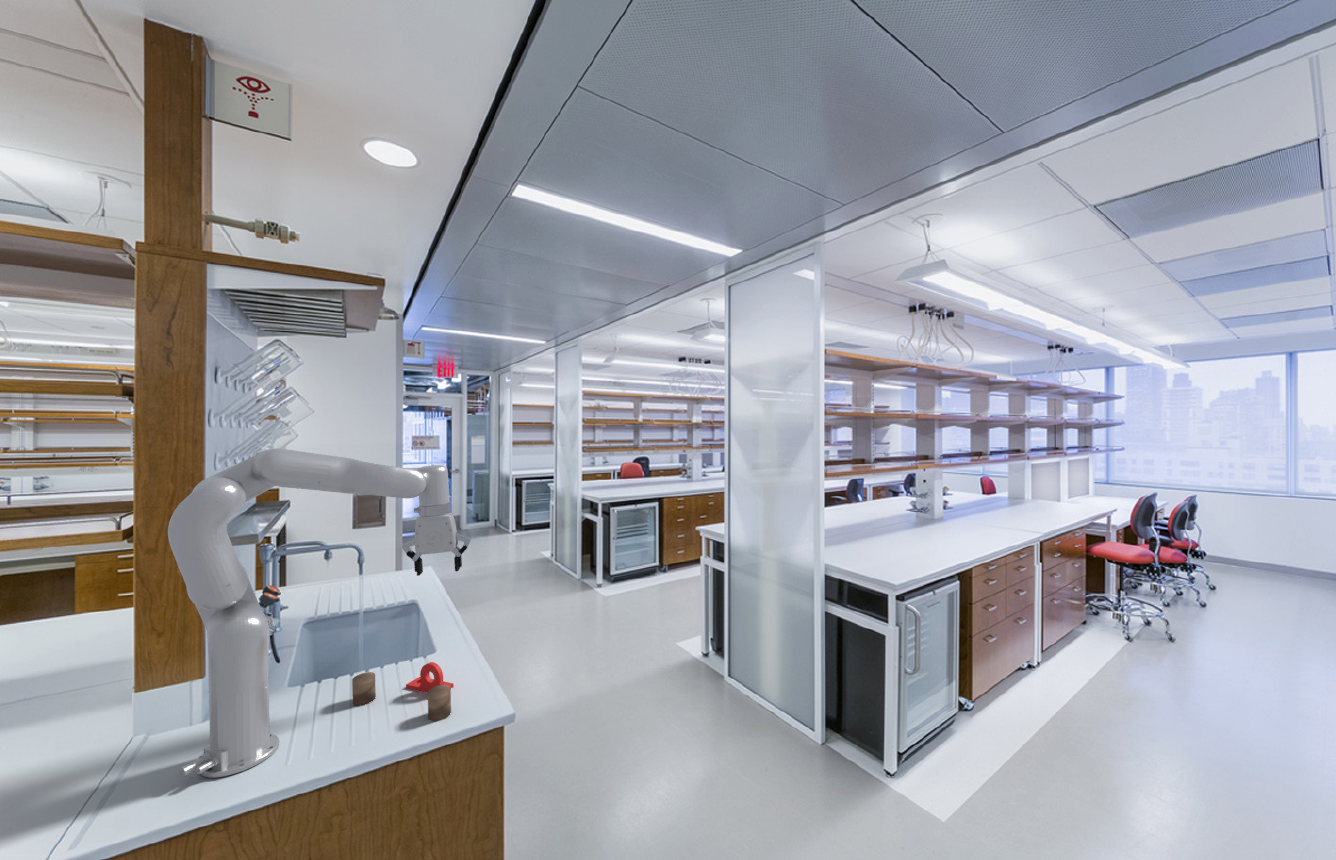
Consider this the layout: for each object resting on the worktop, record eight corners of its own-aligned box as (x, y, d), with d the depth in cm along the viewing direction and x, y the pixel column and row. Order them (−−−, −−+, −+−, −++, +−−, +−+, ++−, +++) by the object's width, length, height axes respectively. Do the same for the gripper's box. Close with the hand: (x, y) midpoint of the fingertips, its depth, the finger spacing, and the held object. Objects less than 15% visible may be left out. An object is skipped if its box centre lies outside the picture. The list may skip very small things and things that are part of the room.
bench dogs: (440, 722, 113) (439, 697, 113) (347, 704, 121) (347, 680, 121) (455, 710, 117) (455, 686, 117) (365, 693, 126) (365, 671, 126)
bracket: (453, 687, 129) (452, 658, 129) (440, 696, 124) (439, 666, 124) (420, 680, 133) (419, 651, 133) (406, 688, 129) (405, 659, 129)
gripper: (396, 516, 125) (400, 580, 126) (466, 510, 129) (469, 572, 130) (405, 510, 133) (408, 571, 133) (471, 505, 137) (474, 564, 137)
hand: (438, 572), depth 131 cm, fingers open, 9 cm apart
